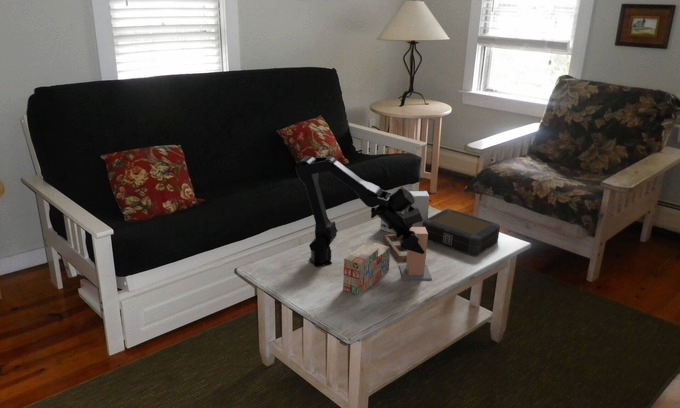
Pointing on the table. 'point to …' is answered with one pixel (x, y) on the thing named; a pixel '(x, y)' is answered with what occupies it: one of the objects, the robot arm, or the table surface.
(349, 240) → the table surface
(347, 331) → the table surface
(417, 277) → the slate mat
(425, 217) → the skincare box
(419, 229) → the terracotta block
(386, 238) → the walnut rack
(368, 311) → the table surface
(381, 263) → the stack of blocks
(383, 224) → the light bulb box
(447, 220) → the cash box
